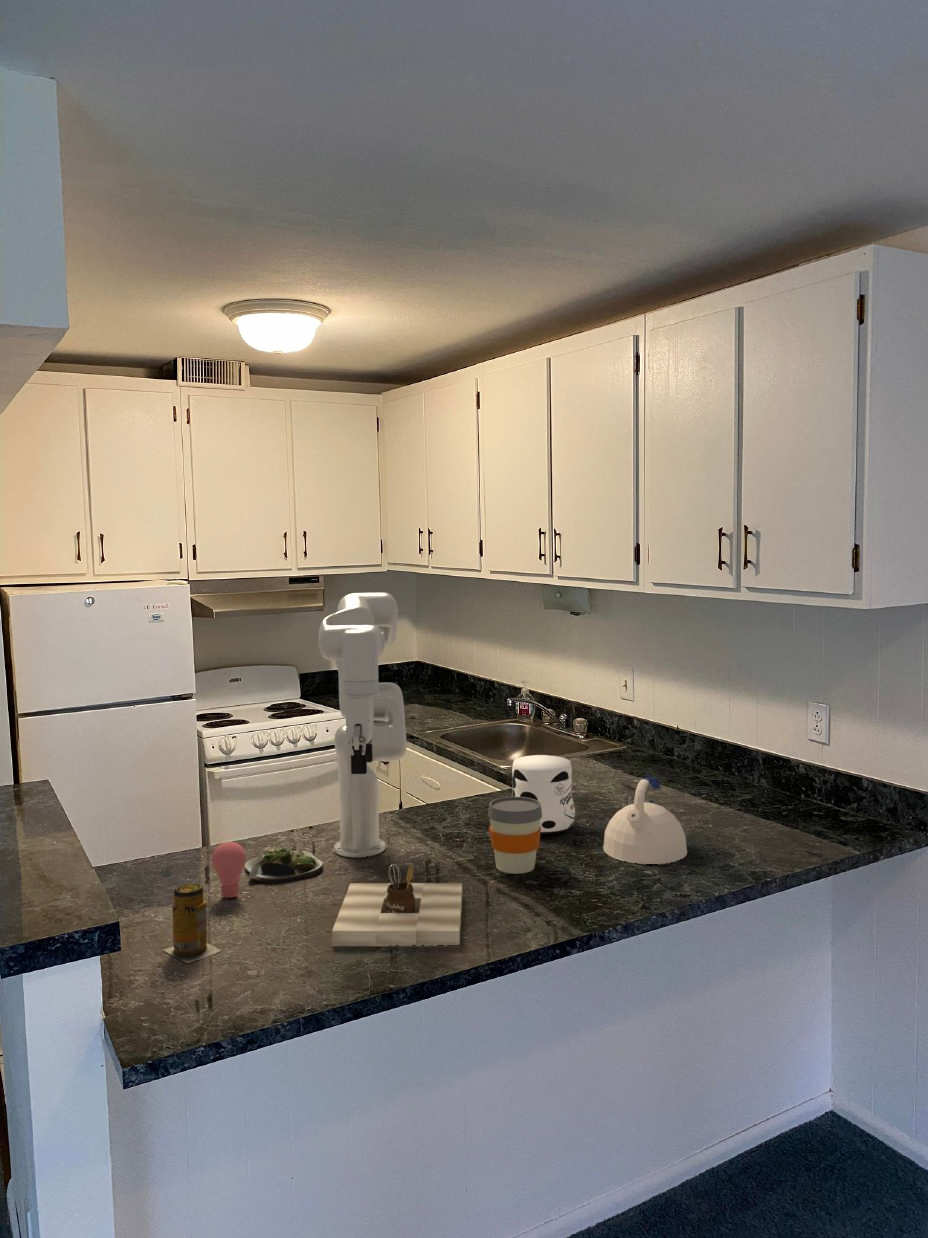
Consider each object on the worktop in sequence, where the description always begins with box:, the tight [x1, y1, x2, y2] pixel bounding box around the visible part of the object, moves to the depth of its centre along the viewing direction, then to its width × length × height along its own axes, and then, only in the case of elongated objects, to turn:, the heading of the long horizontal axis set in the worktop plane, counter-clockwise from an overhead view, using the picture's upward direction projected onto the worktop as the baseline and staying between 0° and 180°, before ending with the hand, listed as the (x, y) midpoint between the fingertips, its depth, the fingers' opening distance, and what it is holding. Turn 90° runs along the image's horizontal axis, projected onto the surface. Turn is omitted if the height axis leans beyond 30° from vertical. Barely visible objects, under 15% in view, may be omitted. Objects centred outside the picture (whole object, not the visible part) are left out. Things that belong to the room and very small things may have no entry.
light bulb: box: [211, 841, 247, 899], centre depth 198 cm, size 7×7×12 cm
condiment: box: [163, 883, 222, 964], centre depth 172 cm, size 7×8×12 cm
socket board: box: [331, 882, 463, 947], centre depth 185 cm, size 24×24×3 cm
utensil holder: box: [385, 863, 416, 913], centre depth 185 cm, size 6×6×12 cm
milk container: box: [511, 754, 576, 835], centre depth 242 cm, size 17×17×18 cm
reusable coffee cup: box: [487, 796, 542, 875], centre depth 214 cm, size 13×13×15 cm
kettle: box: [602, 776, 688, 865], centre depth 224 cm, size 20×21×18 cm
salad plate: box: [244, 847, 324, 884], centre depth 215 cm, size 19×18×5 cm
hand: (362, 767), depth 195 cm, fingers open, 9 cm apart
